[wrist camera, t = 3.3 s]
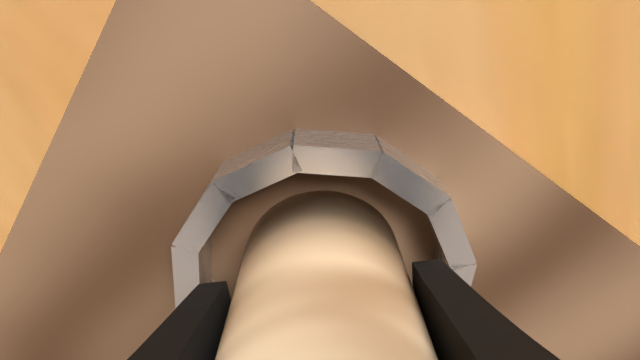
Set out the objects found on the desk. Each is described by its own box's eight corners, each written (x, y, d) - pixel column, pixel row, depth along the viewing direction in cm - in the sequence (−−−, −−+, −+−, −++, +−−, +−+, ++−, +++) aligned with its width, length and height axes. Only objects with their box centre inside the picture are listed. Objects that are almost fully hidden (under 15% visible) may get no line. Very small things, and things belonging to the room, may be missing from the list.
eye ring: (512, 228, 11) (535, 254, 9) (350, 391, 13) (354, 428, 12) (281, 69, 9) (276, 79, 8) (142, 288, 11) (123, 319, 10)
